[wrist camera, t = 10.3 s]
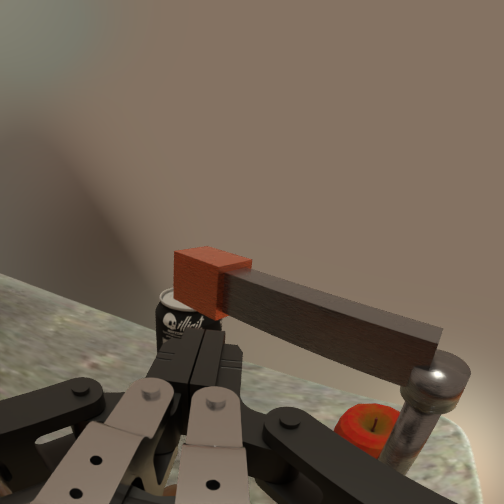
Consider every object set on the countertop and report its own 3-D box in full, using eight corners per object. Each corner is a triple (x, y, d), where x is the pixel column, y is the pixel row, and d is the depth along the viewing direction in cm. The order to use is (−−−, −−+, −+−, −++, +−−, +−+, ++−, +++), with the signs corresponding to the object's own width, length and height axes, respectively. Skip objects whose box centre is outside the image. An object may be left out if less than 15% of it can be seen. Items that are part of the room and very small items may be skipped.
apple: (352, 441, 26) (373, 385, 24) (396, 473, 21) (428, 418, 19) (305, 468, 23) (323, 412, 21) (351, 509, 18) (383, 457, 16)
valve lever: (460, 387, 12) (484, 326, 11) (452, 421, 9) (484, 354, 9) (206, 291, 22) (208, 245, 21) (172, 300, 20) (172, 251, 19)
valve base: (392, 534, 14) (494, 396, 11) (358, 577, 11) (479, 456, 7) (325, 499, 19) (384, 354, 16) (284, 534, 16) (339, 395, 12)
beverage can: (194, 370, 37) (196, 280, 34) (230, 397, 32) (237, 300, 30) (149, 387, 32) (143, 291, 29) (182, 420, 28) (179, 316, 25)
